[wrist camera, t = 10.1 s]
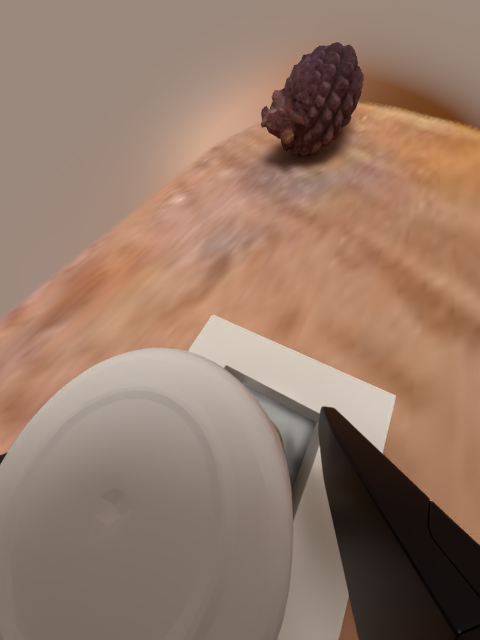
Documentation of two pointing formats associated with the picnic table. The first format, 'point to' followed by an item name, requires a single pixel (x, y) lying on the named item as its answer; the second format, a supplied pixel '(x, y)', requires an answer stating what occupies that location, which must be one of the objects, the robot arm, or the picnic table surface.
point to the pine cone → (315, 100)
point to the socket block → (302, 458)
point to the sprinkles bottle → (146, 508)
